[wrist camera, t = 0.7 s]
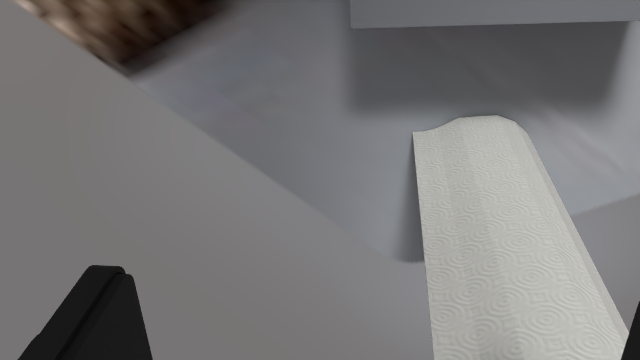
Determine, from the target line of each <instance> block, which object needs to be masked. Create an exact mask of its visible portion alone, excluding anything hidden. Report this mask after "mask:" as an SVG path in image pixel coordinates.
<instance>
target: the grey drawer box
mask: <svg viewBox="0 0 640 360" xmlns="http://www.w3.org/2000/svg"><path fill="white" fill-rule="evenodd" d="M607 21H640V0H350V28H351V29H359V28H394V27H430V26H465V25H500V24H536V23H571V22H607Z"/></svg>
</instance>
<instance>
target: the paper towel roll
mask: <svg viewBox="0 0 640 360" xmlns="http://www.w3.org/2000/svg"><path fill="white" fill-rule="evenodd" d="M413 143H414V154H415V164H416V175H417V186H418V196H419V207H420V217H421V228H422V239H423V249H424V260H425V271H426V281H427V292H428V302H429V313H430V324H431V334H432V345H433V355H434V360H621V357H622V354H623V351H624V348H625V344H626V341H627V338H628V335H629V332H628V331H627V328H626V326H625V324H624V322H623V320H622V319H621V316H620V314H619V313H618V311H617V309H616V307H615V305H614V303H613V301H612V299H611V297H610V295H609V293H608V291H607V289H606V287H605V285H604V283H603V281H602V279H601V277H600V275H599V273H598V271H597V269H596V268H595V265H594V264H593V262H592V260H591V258H590V256H589V254H588V252H587V250H586V248H585V246H584V244H583V242H582V240H581V238H580V236H579V234H578V232H577V230H576V228H575V226H574V224H573V222H572V220H571V218H570V216H569V214H568V212H567V210H566V209H565V207H564V205H563V203H562V201H561V199H560V197H559V195H558V193H557V191H556V189H555V187H554V185H553V183H552V181H551V179H550V177H549V175H548V173H547V171H546V169H545V167H544V165H543V163H542V161H541V159H540V158H539V156H538V154H537V152H536V150H535V148H534V146H533V144H532V142H531V140H530V138H529V136H528V134H527V133H526V132H525V131H524V130H523V129H522V128H521V127H520V126H519V125H518V124H517V123H516V122H515V121H512V120H509V119H507V118H504V117H501V116H498V115H489V116H473V117H463V118H457V119H455V120H453V121H451V122H449V123H447V124H445V125H443V126H440V127H438V128H436V129H432V130H428V131H424V132H413Z"/></svg>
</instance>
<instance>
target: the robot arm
mask: <svg viewBox="0 0 640 360" xmlns="http://www.w3.org/2000/svg"><path fill="white" fill-rule="evenodd" d="M18 360H153V359H152V355H151V351H150V346H149V342H148V338H147V334H146V329H145V325H144V321H143V317H142V312H141V308H140V304H139V300H138V295H137V291H136V287H135V283H134V279H133V277H132V276H131V275H130V274H126V273H125V271H124V269H123V268H122V267H120V266H100V265H92V266H89V267H88V268H87V269H86V271H85V272H84V273H83V275H82V276H81V278H80V279H79V280H78V282H77V283H76V284H75V286H74V287H73V289H72V290H71V291H70V293H69V294H68V295H67V297H66V298H65V299H64V301H63V302H62V304H61V305H60V306H59V308H58V309H57V310H56V312H55V313H54V315H53V316H52V317H51V319H50V320H49V322H48V323H47V324H46V326H45V327H44V328H43V330H42V331H41V333H40V334H38V335H37V336H36V337H35V338H34V339H33V340H32V341H31V343H30V344H29V345H28V347H27V348H26V349H25V351H24V352H23V353H22V355H21V356H20V358H19V359H18ZM621 360H640V302H639V304H638V307H637V310H636V313H635V317H634V319H633V323H632V326H631V329H630V332H629V335H628V338H627V341H626V344H625V348H624V351H623V354H622V357H621Z"/></svg>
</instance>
